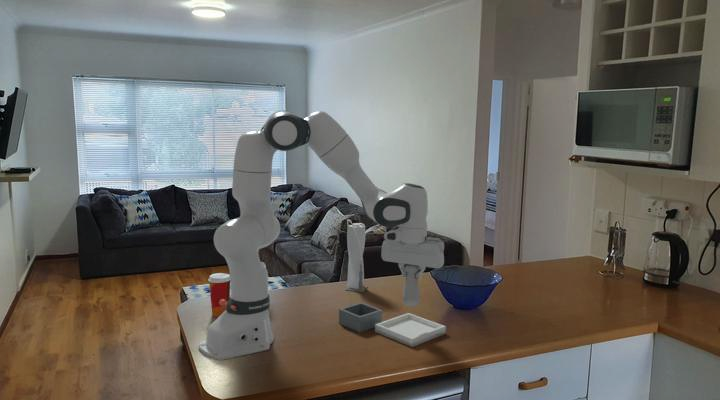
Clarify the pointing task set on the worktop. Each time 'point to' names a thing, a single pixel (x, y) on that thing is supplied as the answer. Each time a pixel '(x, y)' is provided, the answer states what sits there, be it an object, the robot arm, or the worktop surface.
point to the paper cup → (219, 292)
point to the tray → (410, 329)
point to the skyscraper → (355, 257)
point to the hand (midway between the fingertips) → (411, 277)
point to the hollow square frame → (360, 316)
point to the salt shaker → (411, 286)
